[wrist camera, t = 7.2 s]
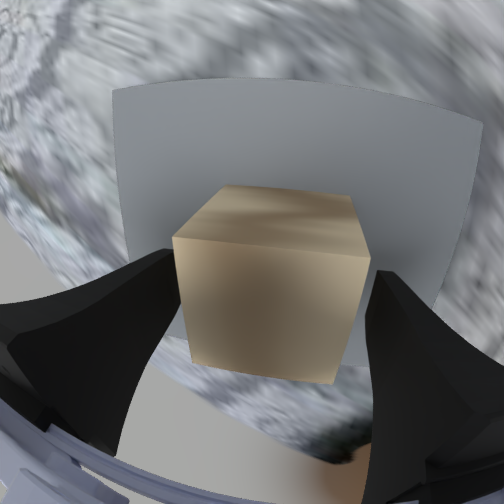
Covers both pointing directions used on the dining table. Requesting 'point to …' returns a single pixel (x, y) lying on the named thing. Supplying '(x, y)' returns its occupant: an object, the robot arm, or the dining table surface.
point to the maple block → (271, 281)
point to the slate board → (299, 167)
